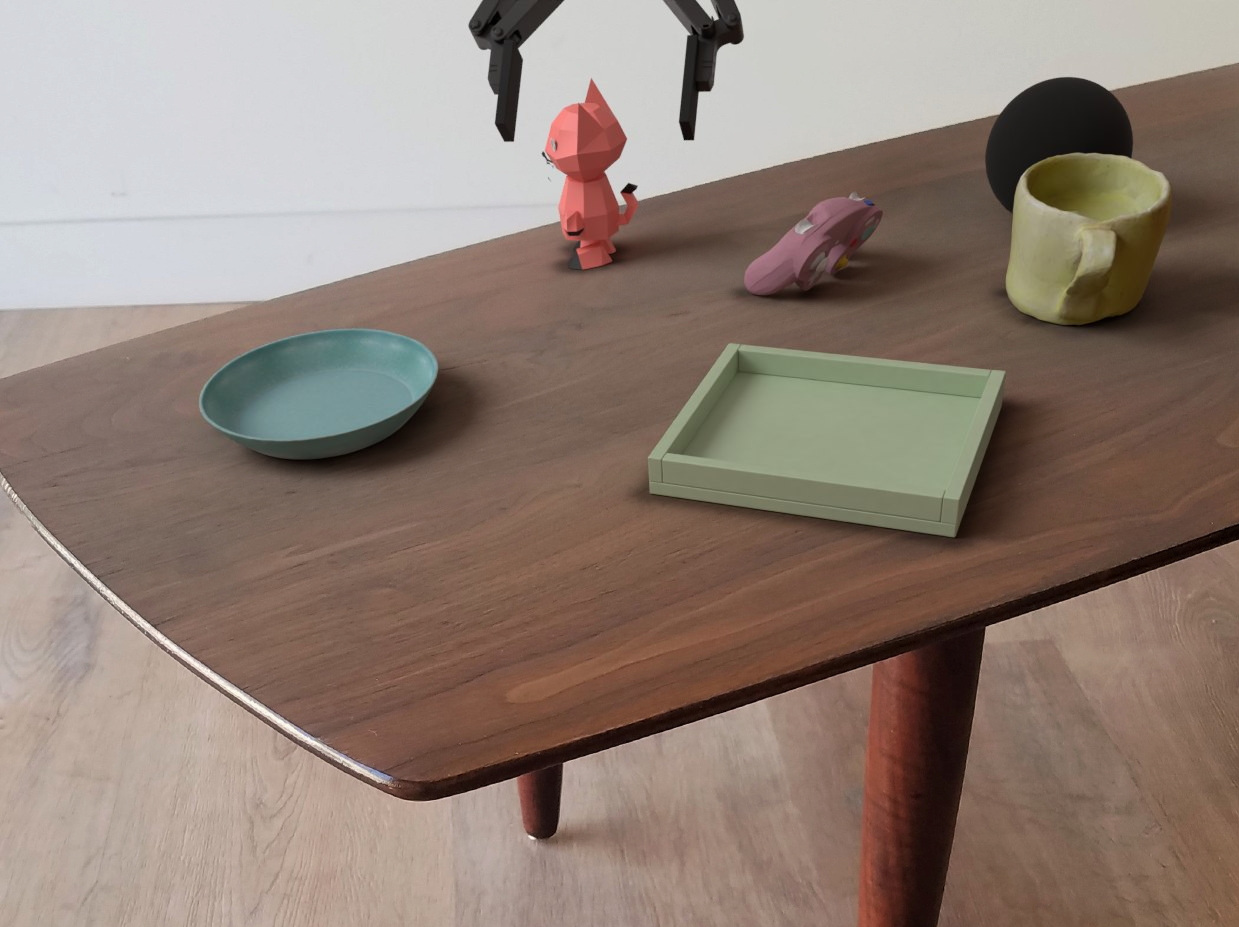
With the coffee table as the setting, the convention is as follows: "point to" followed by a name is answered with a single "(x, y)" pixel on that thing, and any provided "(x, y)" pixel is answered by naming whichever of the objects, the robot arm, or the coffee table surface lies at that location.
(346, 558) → the coffee table surface
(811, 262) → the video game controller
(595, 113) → the cat figurine
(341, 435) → the saucer
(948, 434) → the sage green tray
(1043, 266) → the mug
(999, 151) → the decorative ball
